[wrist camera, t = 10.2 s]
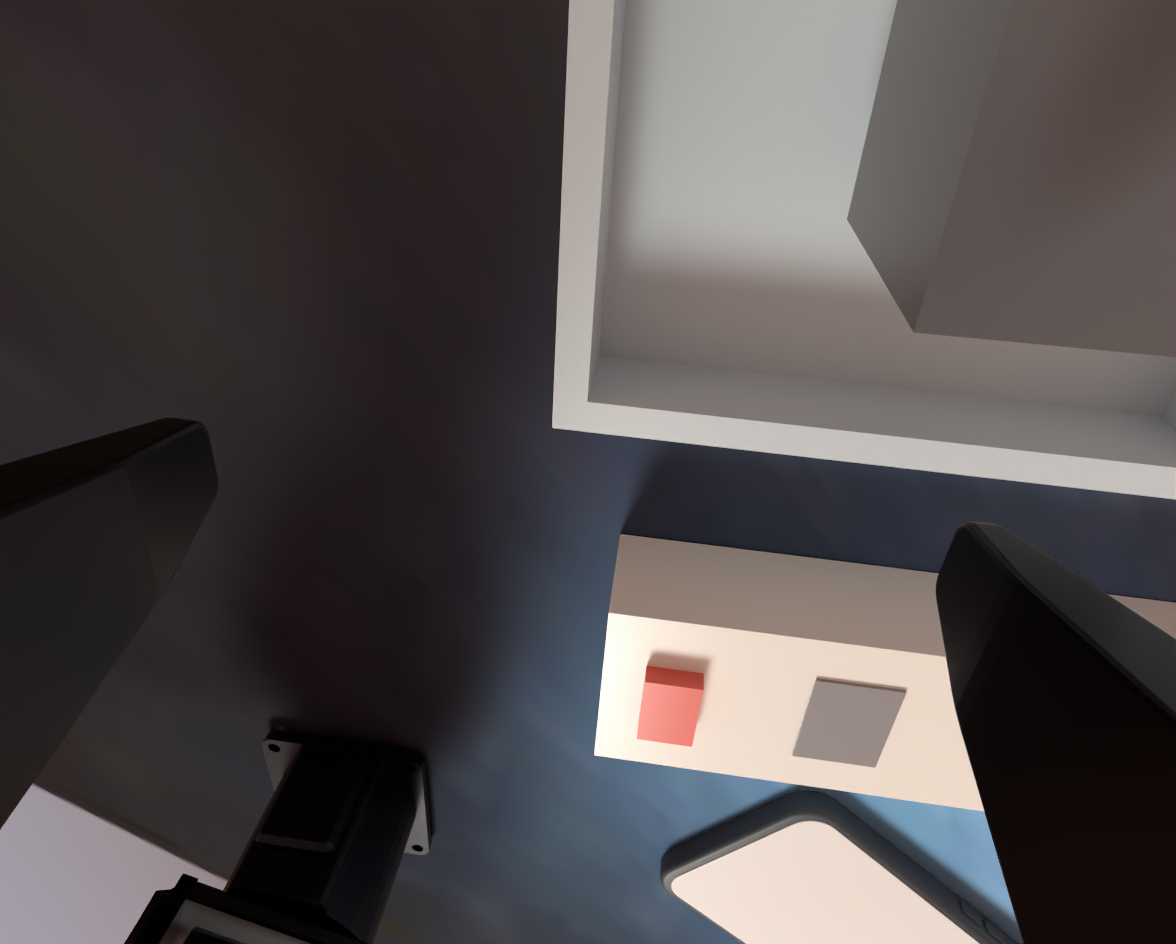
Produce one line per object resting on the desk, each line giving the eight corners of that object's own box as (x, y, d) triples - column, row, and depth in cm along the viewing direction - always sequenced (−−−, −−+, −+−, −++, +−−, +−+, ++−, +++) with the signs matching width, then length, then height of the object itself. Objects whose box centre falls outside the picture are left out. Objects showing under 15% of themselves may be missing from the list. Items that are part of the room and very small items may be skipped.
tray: (1170, 439, 20) (1238, 506, 17) (569, 373, 21) (551, 427, 19) (1671, -473, 11) (1944, -599, 9) (615, -504, 12) (594, -623, 10)
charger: (1113, -62, 14) (1455, -90, 8) (1018, 213, 17) (1212, 360, 11) (893, -74, 15) (1045, -112, 8) (834, 198, 17) (913, 332, 11)
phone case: (647, 846, 34) (877, 1009, 38) (644, 882, 32) (883, 1047, 37) (813, 765, 29) (1049, 958, 34) (818, 802, 28) (1063, 999, 32)
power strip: (1570, 651, 22) (1732, 777, 18) (1430, 782, 25) (1545, 910, 22) (620, 533, 24) (606, 628, 20) (605, 670, 27) (591, 771, 24)
